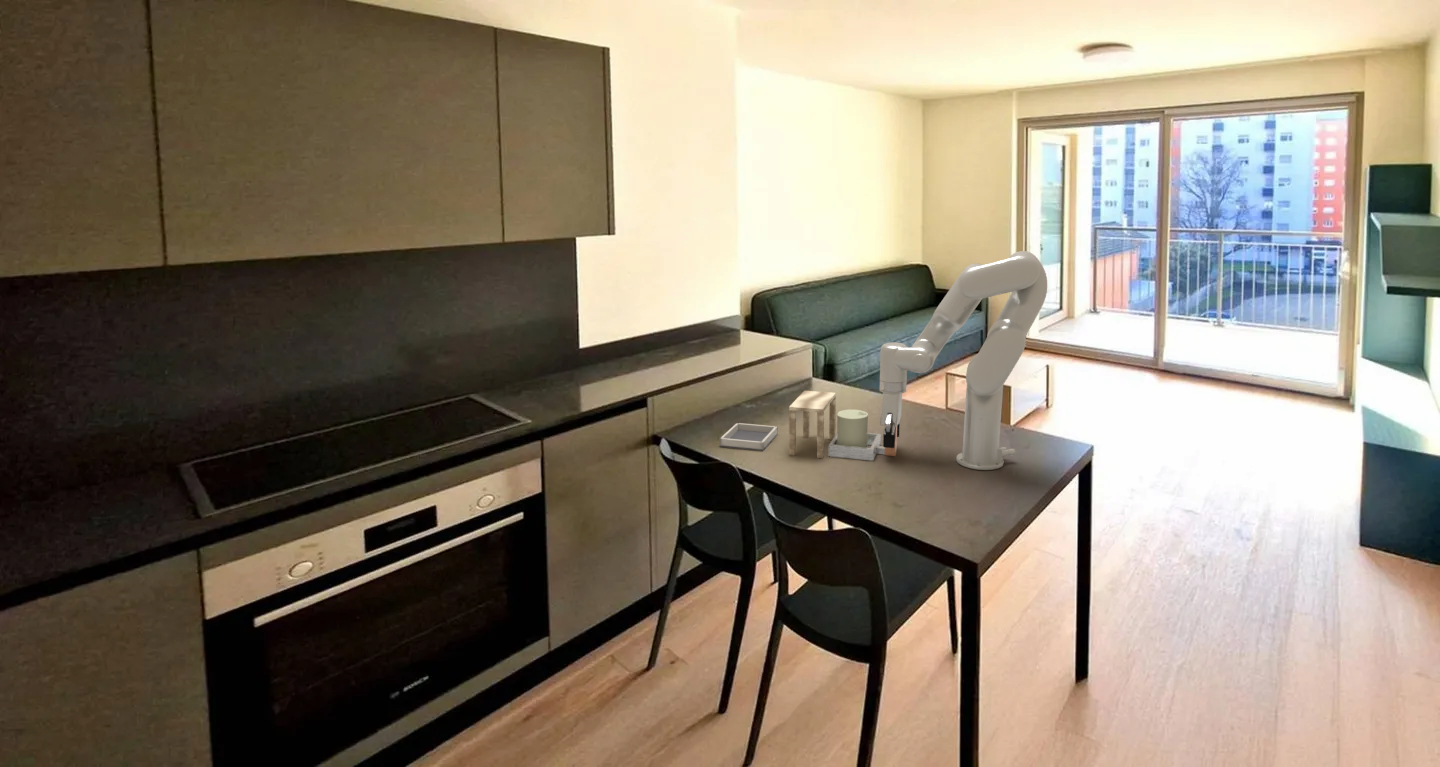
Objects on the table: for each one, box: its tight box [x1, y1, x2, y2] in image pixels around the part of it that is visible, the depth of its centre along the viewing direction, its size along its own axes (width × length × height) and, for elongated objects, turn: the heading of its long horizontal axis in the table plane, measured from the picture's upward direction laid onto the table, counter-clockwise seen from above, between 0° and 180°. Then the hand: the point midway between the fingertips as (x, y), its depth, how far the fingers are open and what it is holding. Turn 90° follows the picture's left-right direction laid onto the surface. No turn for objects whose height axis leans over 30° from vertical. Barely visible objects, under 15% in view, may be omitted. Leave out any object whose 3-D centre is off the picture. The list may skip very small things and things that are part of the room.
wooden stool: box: [788, 390, 837, 459], centre depth 225 cm, size 10×18×15 cm, turn 159°
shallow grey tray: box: [828, 423, 898, 462], centre depth 220 cm, size 18×14×10 cm
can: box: [836, 408, 869, 448], centre depth 221 cm, size 9×9×12 cm
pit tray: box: [719, 422, 779, 452], centre depth 234 cm, size 14×16×3 cm
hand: (891, 441), depth 218 cm, fingers open, 9 cm apart
